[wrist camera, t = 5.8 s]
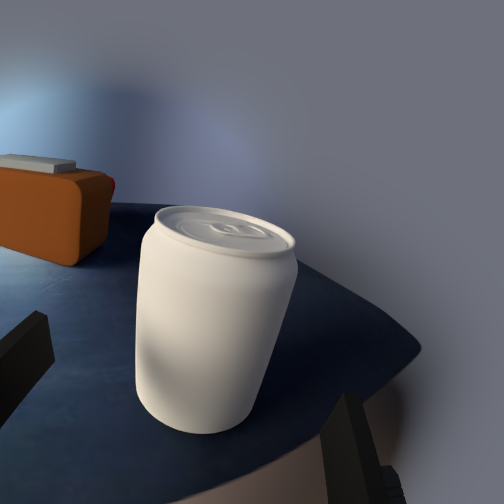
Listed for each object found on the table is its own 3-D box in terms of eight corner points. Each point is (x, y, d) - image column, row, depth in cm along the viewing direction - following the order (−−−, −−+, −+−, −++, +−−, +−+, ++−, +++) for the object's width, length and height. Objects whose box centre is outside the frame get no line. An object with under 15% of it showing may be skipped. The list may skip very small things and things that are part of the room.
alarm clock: (107, 247, 38) (116, 164, 34) (79, 271, 30) (85, 170, 26) (-6, 219, 35) (-3, 151, 32) (-38, 233, 27) (-38, 156, 24)
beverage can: (126, 360, 20) (134, 198, 16) (222, 350, 24) (255, 210, 20) (155, 450, 13) (167, 255, 10) (273, 422, 18) (338, 258, 14)
